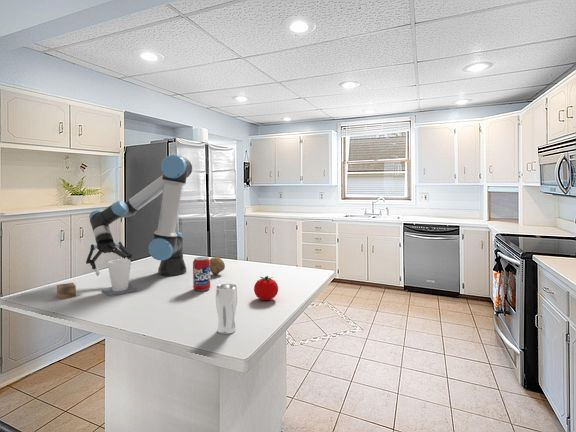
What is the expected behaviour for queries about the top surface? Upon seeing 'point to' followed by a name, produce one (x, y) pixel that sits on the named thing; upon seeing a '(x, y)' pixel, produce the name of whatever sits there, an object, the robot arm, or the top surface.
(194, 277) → the soda can
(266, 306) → the top surface
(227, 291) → the beer glass
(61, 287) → the walnut block
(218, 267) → the natural sponge
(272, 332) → the top surface
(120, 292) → the mat
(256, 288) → the tomato
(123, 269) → the foam cup
